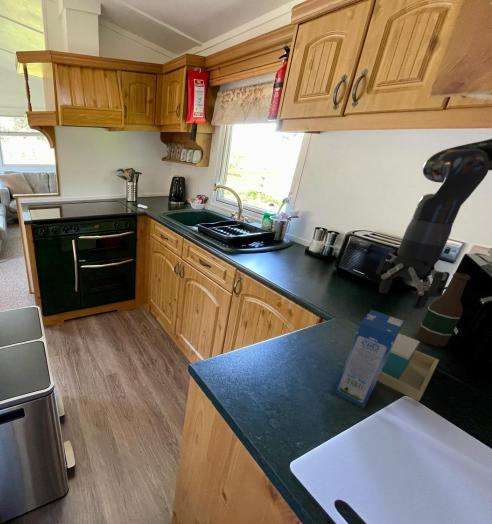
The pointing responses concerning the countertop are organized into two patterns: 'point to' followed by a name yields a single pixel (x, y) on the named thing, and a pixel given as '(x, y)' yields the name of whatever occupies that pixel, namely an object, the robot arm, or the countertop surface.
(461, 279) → the beer bottle
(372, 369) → the milk carton
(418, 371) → the crate
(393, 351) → the white and teal box
